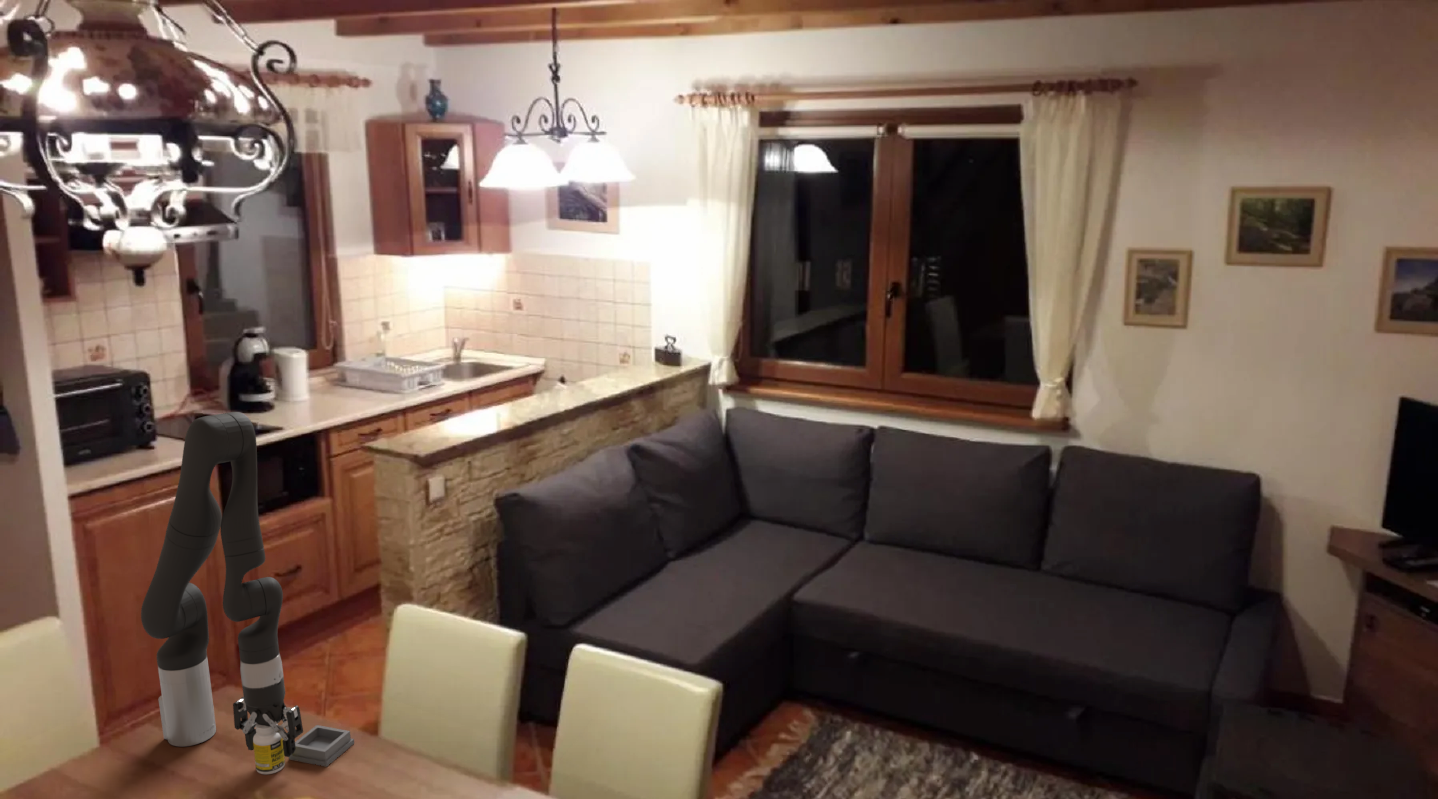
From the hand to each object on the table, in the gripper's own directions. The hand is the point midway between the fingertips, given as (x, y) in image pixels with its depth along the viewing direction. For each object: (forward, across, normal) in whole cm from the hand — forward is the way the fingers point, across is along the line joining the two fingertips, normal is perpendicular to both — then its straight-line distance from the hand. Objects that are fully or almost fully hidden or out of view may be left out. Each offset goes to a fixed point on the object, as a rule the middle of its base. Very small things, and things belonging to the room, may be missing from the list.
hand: (271, 751), depth 213 cm
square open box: (+4, +6, +8) cm, 10 cm away
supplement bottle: (+4, 0, 0) cm, 4 cm away
